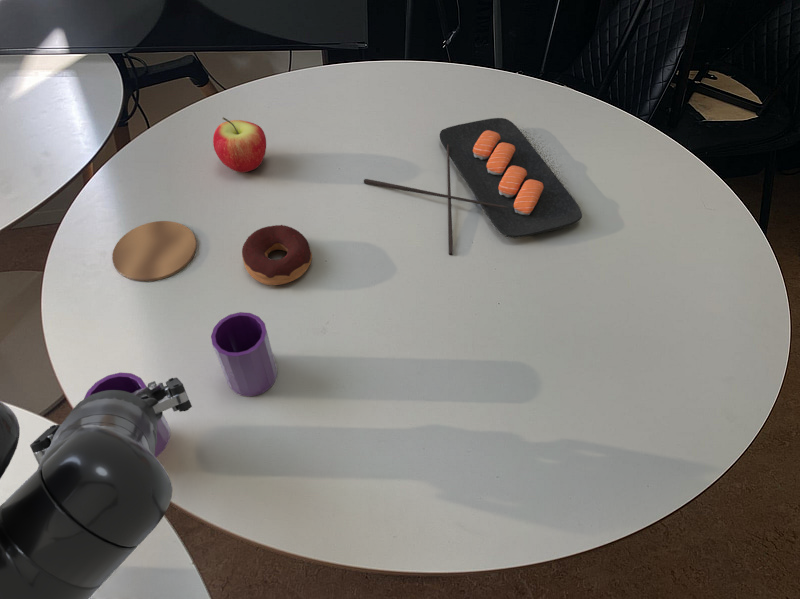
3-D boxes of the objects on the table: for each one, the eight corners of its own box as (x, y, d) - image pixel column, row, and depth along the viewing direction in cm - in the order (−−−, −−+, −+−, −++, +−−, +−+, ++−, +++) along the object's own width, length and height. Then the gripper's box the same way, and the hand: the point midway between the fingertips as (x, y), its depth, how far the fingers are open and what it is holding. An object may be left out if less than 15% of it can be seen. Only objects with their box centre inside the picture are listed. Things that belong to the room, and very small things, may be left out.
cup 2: (231, 402, 74) (215, 362, 67) (224, 361, 77) (207, 319, 70) (281, 388, 75) (270, 347, 68) (272, 349, 79) (260, 306, 72)
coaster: (114, 289, 85) (113, 287, 84) (112, 232, 92) (110, 230, 91) (201, 270, 87) (200, 268, 87) (192, 216, 94) (191, 213, 94)
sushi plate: (586, 227, 94) (593, 209, 91) (406, 273, 87) (407, 255, 84) (506, 123, 111) (509, 105, 108) (350, 155, 104) (349, 136, 101)
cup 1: (114, 471, 65) (82, 433, 58) (112, 422, 69) (82, 381, 62) (172, 455, 67) (148, 416, 60) (168, 408, 70) (144, 366, 63)
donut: (313, 286, 85) (310, 267, 82) (243, 292, 85) (238, 273, 82) (311, 236, 92) (308, 217, 89) (246, 241, 91) (241, 222, 88)
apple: (214, 158, 103) (200, 107, 96) (261, 145, 106) (251, 94, 98) (228, 187, 99) (214, 135, 91) (277, 172, 101) (267, 121, 93)
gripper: (176, 368, 51) (175, 346, 66) (-10, 441, 46) (37, 399, 62) (209, 447, 52) (201, 407, 68) (31, 526, 47) (66, 464, 63)
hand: (122, 403), depth 65 cm, fingers closed on cup 1, 6 cm apart
